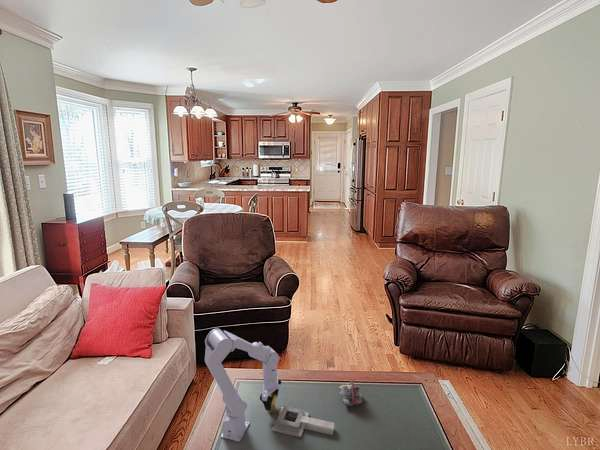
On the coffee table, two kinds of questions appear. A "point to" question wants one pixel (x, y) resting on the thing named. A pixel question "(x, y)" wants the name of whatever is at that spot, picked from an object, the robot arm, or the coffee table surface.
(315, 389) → the coffee table surface
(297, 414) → the white stepped square fixture
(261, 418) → the coffee table surface
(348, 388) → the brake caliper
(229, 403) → the robot arm
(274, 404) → the pin
